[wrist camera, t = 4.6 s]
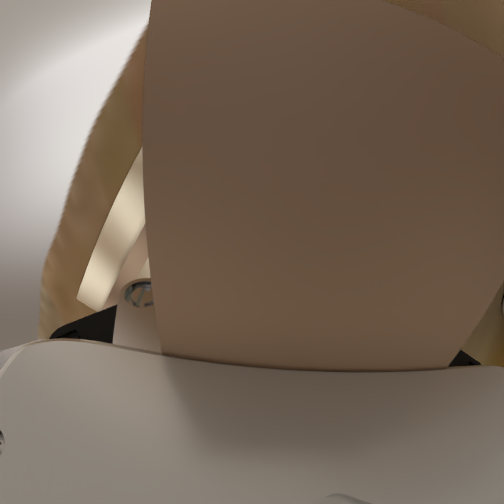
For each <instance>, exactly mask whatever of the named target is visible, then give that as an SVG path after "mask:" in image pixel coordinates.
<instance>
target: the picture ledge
mask: <svg viewBox="0 0 504 504" xmlns="http://www.w3.org/2000/svg"><path fill="white" fill-rule="evenodd" d="M140 278H150V268H149V258H148V248H147V237H146V224H145V209H144V190H143V157H142V148H141V150H140V152H139V154H138V156H137V158H136V159H135V161H134V163H133V165H132V167H131V169H130V171H129V173H128V175H127V177H126V179H125V181H124V183H123V185H122V187H121V189H120V191H119V193H118V195H117V198H116V200H115V202H114V204H113V206H112V208H111V211H110V213H109V215H108V217H107V220H106V222H105V224H104V227H103V229H102V231H101V234H100V236H99V238H98V241H97V243H96V246H95V248H94V251H93V254H92V256H91V259H90V261H89V264H88V267H87V269H86V272H85V275H84V278H83V281H82V284H81V286H80V289H79V292H78V295H77V298H76V299H78V300H79V301H81V302H82V303H84V304H86V305H87V306H89V307H91V308H92V309H94V310H96V311H97V312H99V311H102V310H104V309H107V308H109V307H112V306H114V305H117V304H118V298H119V293H120V291H121V289H122V288H123V287H124V285H125V284H127V283H129V282H130V281H133V280H136V279H140Z"/></svg>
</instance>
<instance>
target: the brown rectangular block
mask: <svg viewBox="0 0 504 504" xmlns="http://www.w3.org/2000/svg"><path fill="white" fill-rule="evenodd" d="M142 157H143V190H144V209H145V224H146V237H147V248H148V258H149V268H150V277H151V285H152V293H153V301H154V308H155V315H156V321H157V328H158V334H159V340H160V346H161V351H162V355H168V356H174V357H180V358H186V359H193V360H200V361H207V362H215V363H223V364H232V365H241V366H251V367H261V368H273V369H286V370H303V371H327V372H392V371H418V370H434V369H446V368H447V367H448V365H449V364H450V363H451V362H452V360H453V359H454V358H455V356H456V355H457V354H458V352H459V351H460V350H461V348H462V347H463V345H464V344H465V343H466V341H467V340H468V338H469V337H470V335H471V334H472V333H473V331H474V330H475V328H476V327H477V325H478V324H479V322H480V321H481V319H482V317H483V316H484V314H485V313H486V311H487V309H488V308H489V306H490V304H491V303H492V301H493V299H494V298H495V296H496V294H497V293H498V291H499V289H500V287H501V285H502V284H503V282H504V59H503V58H502V57H500V56H499V55H497V54H495V53H494V52H492V51H491V50H489V49H487V48H486V47H484V46H482V45H481V44H479V43H477V42H476V41H474V40H472V39H470V38H468V37H467V36H465V35H463V34H461V33H459V32H457V31H455V30H453V29H451V28H449V27H447V26H445V25H443V24H441V23H439V22H437V21H434V20H432V19H430V18H428V17H425V16H423V15H421V14H418V13H416V12H413V11H411V10H408V9H406V8H403V7H400V6H398V5H395V4H392V3H389V2H386V1H383V0H152V2H151V10H150V17H149V25H148V34H147V45H146V56H145V70H144V88H143V120H142Z"/></svg>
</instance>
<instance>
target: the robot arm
mask: <svg viewBox="0 0 504 504" xmlns="http://www.w3.org/2000/svg"><path fill="white" fill-rule="evenodd" d="M502 311H503V314H504V300H503V308H502ZM0 504H504V367H499V366H493V365H481V364H480V363H479V362H478V361H476V360H475V359H473V358H472V357H470V356H469V355H468V354H466V353H465V352H463V351H462V350H460V351H459V352H458V354H457V355H456V356H455V358H454V359H453V360H452V362H451V363H450V364H449V365H448V367H447V368H446V369H434V370H418V371H392V372H327V371H303V370H286V369H273V368H261V367H251V366H241V365H232V364H223V363H215V362H207V361H200V360H193V359H186V358H180V357H174V356H168V355H162V351H161V346H160V340H159V334H158V328H157V321H156V315H155V308H154V301H153V293H152V285H151V277H150V278H140V279H136V280H133V281H130V282H129V283H127V284H125V285H124V287H123V288H122V289H121V291H120V293H119V298H118V304H117V305H114V306H112V307H109V308H107V309H104V310H102V311H99V312H97V313H94V314H92V315H89V316H87V317H84V318H82V319H79V320H77V321H74V322H72V323H69V324H67V325H64V326H62V327H60V328H58V329H57V330H56V331H55V332H54V333H53V334H52V335H51V337H50V338H49V339H46V340H43V339H40V340H36V341H33V342H30V343H27V344H23V345H20V346H16V347H13V348H10V349H6V350H3V351H0Z"/></svg>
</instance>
